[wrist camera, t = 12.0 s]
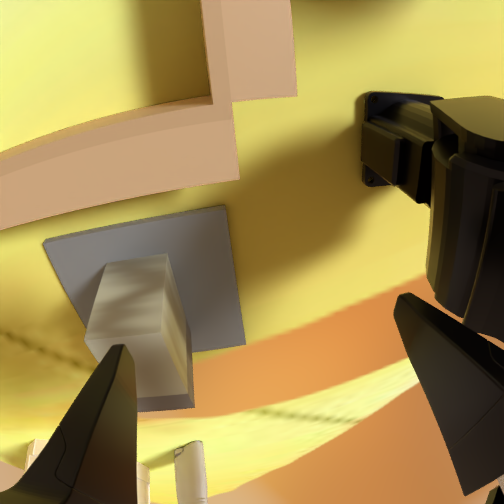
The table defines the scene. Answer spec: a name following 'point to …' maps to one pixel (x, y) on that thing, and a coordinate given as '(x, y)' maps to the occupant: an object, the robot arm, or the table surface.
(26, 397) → the table surface
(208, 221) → the slate mat
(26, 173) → the light brown square frame
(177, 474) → the tall pale column
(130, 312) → the box
